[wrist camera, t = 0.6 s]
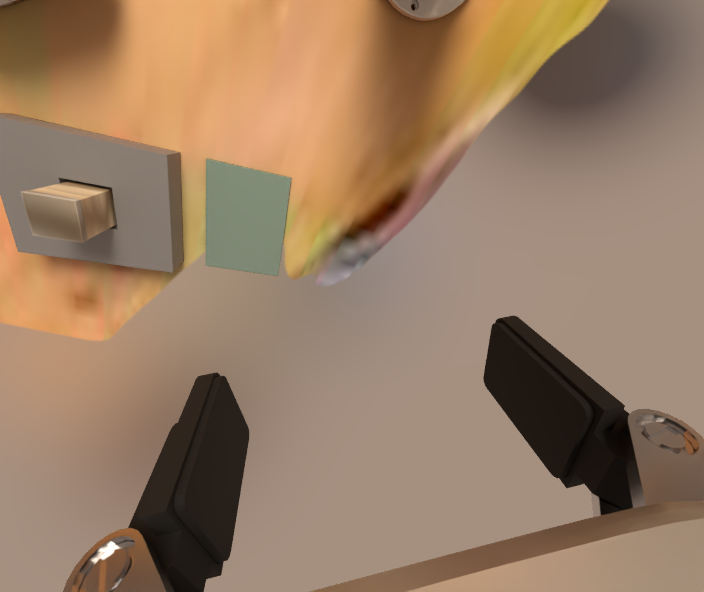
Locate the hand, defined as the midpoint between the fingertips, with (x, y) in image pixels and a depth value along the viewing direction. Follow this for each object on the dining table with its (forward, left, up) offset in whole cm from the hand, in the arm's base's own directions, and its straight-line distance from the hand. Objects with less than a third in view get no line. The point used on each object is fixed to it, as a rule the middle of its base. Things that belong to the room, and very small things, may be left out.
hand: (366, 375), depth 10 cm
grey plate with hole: (+6, -25, -34) cm, 42 cm away
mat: (+6, -9, -34) cm, 35 cm away
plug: (+6, -25, -33) cm, 42 cm away
